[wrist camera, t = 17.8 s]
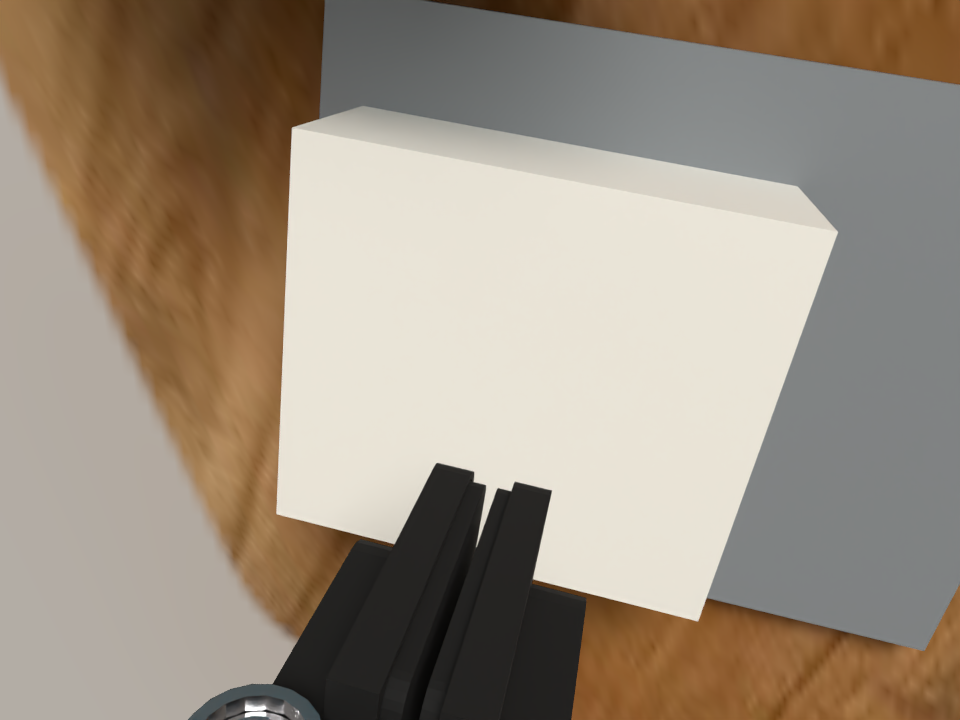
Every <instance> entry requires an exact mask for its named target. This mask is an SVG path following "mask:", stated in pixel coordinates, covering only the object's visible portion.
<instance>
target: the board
mask: <svg viewBox="0 0 960 720" xmlns="http://www.w3.org/2000/svg"><path fill="white" fill-rule="evenodd" d="M361 106H367V107H372V108H378V109H383V110H388V111H394V112H399V113H405V114H410V115H415V116H421V117H426V118H431V119H437V120H442V121H448V122H453V123H458V124H464V125H469V126H475V127H480V128H485V129H491V130H496V131H502V132H507V133H512V134H518V135H523V136H529V137H534V138H539V139H545V140H550V141H556V142H561V143H566V144H572V145H577V146H582V147H588V148H593V149H599V150H604V151H609V152H615V153H620V154H626V155H631V156H636V157H642V158H647V159H653V160H658V161H663V162H669V163H674V164H680V165H685V166H690V167H696V168H701V169H707V170H712V171H717V172H723V173H728V174H734V175H739V176H744V177H750V178H755V179H760V180H766V181H771V182H777V183H782V184H787V185H793V186H798V187H799V188H800V190H801V191H802V192H803V193H804V194H805V195H806V196H807V197H808V199H809V200H810V201H811V202H812V203H813V204H814V205H815V206H816V208H817V209H818V210H819V211H820V212H821V213H822V214H823V215H824V217H825V218H826V219H827V220H828V221H829V222H830V223H831V224H832V226H833V227H834V228H835V229H836V230H837V231H838V234H837V236H836V239H835V242H834V245H833V248H832V250H831V253H830V256H829V259H828V261H827V264H826V267H825V270H824V273H823V275H822V278H821V281H820V284H819V286H818V289H817V292H816V295H815V298H814V300H813V303H812V306H811V309H810V311H809V314H808V317H807V320H806V323H805V325H804V328H803V331H802V334H801V337H800V339H799V342H798V345H797V348H796V350H795V353H794V356H793V359H792V362H791V364H790V367H789V370H788V373H787V375H786V378H785V381H784V384H783V387H782V389H781V392H780V395H779V398H778V400H777V403H776V406H775V409H774V412H773V414H772V417H771V420H770V423H769V425H768V428H767V431H766V434H765V437H764V439H763V442H762V445H761V448H760V451H759V453H758V456H757V459H756V462H755V464H754V467H753V470H752V473H751V476H750V478H749V481H748V484H747V487H746V489H745V492H744V495H743V498H742V501H741V503H740V506H739V509H738V512H737V514H736V517H735V520H734V523H733V526H732V528H731V531H730V534H729V537H728V540H727V542H726V545H725V548H724V551H723V553H722V556H721V559H720V562H719V565H718V567H717V570H716V573H715V576H714V578H713V581H712V584H711V587H710V590H709V592H708V595H707V598H709V599H714V600H718V601H722V602H726V603H730V604H734V605H738V606H742V607H746V608H750V609H754V610H759V611H763V612H767V613H771V614H775V615H779V616H783V617H787V618H791V619H795V620H799V621H804V622H808V623H812V624H816V625H820V626H824V627H828V628H832V629H836V630H840V631H844V632H849V633H853V634H857V635H861V636H865V637H869V638H873V639H877V640H881V641H885V642H889V643H894V644H898V645H902V646H906V647H910V648H914V649H918V650H922V651H924V650H925V648H926V647H927V645H928V643H929V641H930V639H931V637H932V635H933V633H934V631H935V630H936V628H937V626H938V624H939V622H940V620H941V618H942V616H943V614H944V613H945V611H946V609H947V607H948V605H949V603H950V601H951V599H952V597H953V596H954V594H955V592H956V590H957V588H958V586H959V584H960V85H958V84H952V83H946V82H939V81H933V80H927V79H920V78H914V77H908V76H901V75H895V74H889V73H883V72H876V71H870V70H864V69H857V68H851V67H845V66H838V65H832V64H826V63H819V62H813V61H807V60H800V59H794V58H788V57H781V56H775V55H769V54H762V53H756V52H750V51H744V50H737V49H731V48H725V47H718V46H712V45H706V44H699V43H693V42H687V41H680V40H674V39H668V38H661V37H655V36H649V35H642V34H636V33H630V32H624V31H617V30H611V29H605V28H598V27H592V26H586V25H579V24H573V23H567V22H560V21H554V20H548V19H541V18H535V17H529V16H522V15H516V14H510V13H503V12H497V11H491V10H485V9H478V8H472V7H466V6H459V5H453V4H447V3H440V2H434V1H428V0H325V12H324V32H323V53H322V74H321V95H320V116H319V119H322V118H325V117H328V116H331V115H335V114H338V113H341V112H344V111H348V110H351V109H354V108H358V107H361Z"/></svg>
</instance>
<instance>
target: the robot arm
mask: <svg viewBox="0 0 960 720" xmlns="http://www.w3.org/2000/svg"><path fill="white" fill-rule="evenodd" d="M485 493H486V485H484V484H480V483H476V482H474V471H470V470H466V469H461V468H457V467H453V466H449V465H445V464H441V463H436V464H435V466H434V468H433V470H432V472H431V474H430V476H429V477H428V479H427V481H426V483H425V485H424V487H423V489H422V491H421V493H420V495H419V497H418V499H417V501H416V503H415V505H414V507H413V509H412V511H411V513H410V515H409V517H408V519H407V521H406V523H405V525H404V527H403V529H402V531H401V533H400V535H399V537H398V538H397V540H396V542H395V544H394V546H393V548H392V547H388V546H385V545H381V544H377V543H373V542H369V541H365V540H362V539H360V540H359V541H357V542H356V544H355V545H354V546H353V548H352V549H351V551H350V553H349V554H348V556H347V558H346V560H345V561H344V563H343V565H342V566H341V568H340V570H339V572H338V573H337V575H336V577H335V578H334V580H333V582H332V583H331V585H330V587H329V589H328V590H327V592H326V594H325V595H324V597H323V599H322V601H321V602H320V604H319V606H318V607H317V609H316V611H315V613H314V614H313V616H312V618H311V619H310V621H309V623H308V625H307V626H306V628H305V630H304V631H303V633H302V635H301V637H300V638H299V640H298V642H297V643H296V645H295V647H294V649H293V650H292V652H291V654H290V655H289V657H288V659H287V661H286V662H285V664H284V666H283V667H282V669H281V671H280V673H279V674H278V676H277V678H276V679H275V681H274V683H273V684H250V685H246V686H242V687H237V688H233V689H230V690H228V691H226V692H224V693H222V694H220V695H218V696H216V697H214V698H212V699H210V700H209V701H208V702H206V703H205V704H204V705H203V706H202V707H201V708H199V709H198V710H197V711H196V712H195V713H194V714H193V715H192V716H191V717H190V718H189V719H188V720H571V717H572V709H573V701H574V694H575V686H576V678H577V671H578V663H579V655H580V648H581V640H582V632H583V625H584V617H585V609H586V598H584V597H581V596H577V595H573V594H569V593H565V592H561V591H558V590H554V589H550V588H546V587H542V586H538V585H534V584H532V581H533V576H534V572H535V567H536V562H537V558H538V553H539V549H540V544H541V540H542V535H543V530H544V526H545V521H546V517H547V512H548V507H549V503H550V498H551V494H552V490H548V489H544V488H540V487H536V486H532V485H527V484H523V483H519V482H514V485H513V488H512V491H508V490H504V489H500V488H497V491H496V493H495V496H494V499H493V502H492V505H491V507H490V510H489V513H488V516H487V519H486V522H485V525H484V527H483V530H482V533H481V536H480V539H479V542H478V545H477V540H478V534H479V528H480V522H481V517H482V511H483V505H484V499H485ZM476 545H477V547H476Z"/></svg>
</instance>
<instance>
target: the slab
mask: <svg viewBox="0 0 960 720" xmlns="http://www.w3.org/2000/svg"><path fill="white" fill-rule="evenodd" d="M837 234H838V231H837V230H836V229H835V228H834V227H833V226H832V224H831V223H830V222H829V221H828V220H827V219H826V218H825V217H824V215H823V214H822V213H821V212H820V211H819V210H818V209H817V208H816V206H815V205H814V204H813V203H812V202H811V201H810V200H809V199H808V197H807V196H806V195H805V194H804V193H803V192H802V191H801V190H800V188H799V187H798V186H793V185H787V184H782V183H777V182H771V181H766V180H760V179H755V178H750V177H744V176H739V175H734V174H728V173H723V172H717V171H712V170H707V169H701V168H696V167H690V166H685V165H680V164H674V163H669V162H663V161H658V160H653V159H647V158H642V157H636V156H631V155H626V154H620V153H615V152H609V151H604V150H599V149H593V148H588V147H582V146H577V145H572V144H566V143H561V142H556V141H550V140H545V139H539V138H534V137H529V136H523V135H518V134H512V133H507V132H502V131H496V130H491V129H485V128H480V127H475V126H469V125H464V124H458V123H453V122H448V121H442V120H437V119H431V118H426V117H421V116H415V115H410V114H405V113H399V112H394V111H388V110H383V109H378V108H372V107H367V106H361V107H358V108H354V109H351V110H348V111H344V112H341V113H338V114H335V115H331V116H328V117H325V118H322V119H318V120H315V121H312V122H309V123H305V124H302V125H299V126H296V127H292V140H291V165H290V190H289V215H288V239H287V264H286V289H285V314H284V339H283V364H282V389H281V414H280V439H279V464H278V489H277V514H278V515H282V516H286V517H290V518H294V519H298V520H302V521H306V522H310V523H314V524H318V525H321V526H325V527H329V528H333V529H337V530H341V531H345V532H349V533H353V534H357V535H361V536H365V537H369V538H373V539H377V540H380V541H384V542H388V543H392V544H395V542H396V540H397V538H398V537H399V535H400V533H401V531H402V529H403V527H404V525H405V523H406V521H407V519H408V517H409V515H410V513H411V511H412V509H413V507H414V505H415V503H416V501H417V499H418V497H419V495H420V493H421V491H422V489H423V487H424V485H425V483H426V481H427V479H428V477H429V476H430V474H431V472H432V470H433V468H434V466H435V464H436V463H441V464H445V465H449V466H453V467H457V468H461V469H466V470H470V471H474V482H476V483H480V484H484V485H486V493H485V499H484V505H483V511H482V517H481V522H480V528H479V534H478V540H477V545H478V542H479V539H480V536H481V533H482V530H483V527H484V525H485V522H486V519H487V516H488V513H489V510H490V507H491V505H492V502H493V499H494V496H495V493H496V491H497V488H500V489H504V490H508V491H512V488H513V485H514V482H519V483H523V484H527V485H532V486H536V487H540V488H544V489H548V490H552V494H551V498H550V503H549V507H548V512H547V517H546V521H545V526H544V530H543V535H542V540H541V544H540V549H539V553H538V558H537V562H536V567H535V572H534V576H533V579H534V580H538V581H542V582H546V583H549V584H553V585H557V586H561V587H565V588H569V589H573V590H577V591H581V592H585V593H589V594H593V595H597V596H601V597H605V598H608V599H612V600H616V601H620V602H624V603H628V604H632V605H636V606H640V607H644V608H648V609H652V610H656V611H660V612H663V613H667V614H671V615H675V616H679V617H683V618H687V619H691V620H695V621H698V620H699V617H700V615H701V612H702V609H703V606H704V603H705V601H706V598H707V595H708V592H709V590H710V587H711V584H712V581H713V578H714V576H715V573H716V570H717V567H718V565H719V562H720V559H721V556H722V553H723V551H724V548H725V545H726V542H727V540H728V537H729V534H730V531H731V528H732V526H733V523H734V520H735V517H736V514H737V512H738V509H739V506H740V503H741V501H742V498H743V495H744V492H745V489H746V487H747V484H748V481H749V478H750V476H751V473H752V470H753V467H754V464H755V462H756V459H757V456H758V453H759V451H760V448H761V445H762V442H763V439H764V437H765V434H766V431H767V428H768V425H769V423H770V420H771V417H772V414H773V412H774V409H775V406H776V403H777V400H778V398H779V395H780V392H781V389H782V387H783V384H784V381H785V378H786V375H787V373H788V370H789V367H790V364H791V362H792V359H793V356H794V353H795V350H796V348H797V345H798V342H799V339H800V337H801V334H802V331H803V328H804V325H805V323H806V320H807V317H808V314H809V311H810V309H811V306H812V303H813V300H814V298H815V295H816V292H817V289H818V286H819V284H820V281H821V278H822V275H823V273H824V270H825V267H826V264H827V261H828V259H829V256H830V253H831V250H832V248H833V245H834V242H835V239H836V236H837ZM477 545H476V547H477Z"/></svg>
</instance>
